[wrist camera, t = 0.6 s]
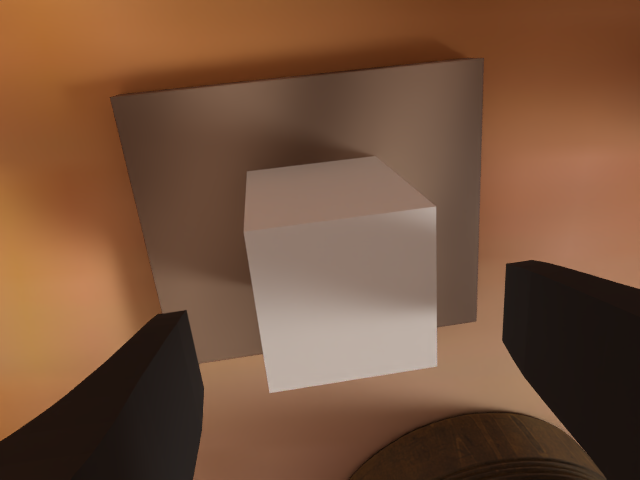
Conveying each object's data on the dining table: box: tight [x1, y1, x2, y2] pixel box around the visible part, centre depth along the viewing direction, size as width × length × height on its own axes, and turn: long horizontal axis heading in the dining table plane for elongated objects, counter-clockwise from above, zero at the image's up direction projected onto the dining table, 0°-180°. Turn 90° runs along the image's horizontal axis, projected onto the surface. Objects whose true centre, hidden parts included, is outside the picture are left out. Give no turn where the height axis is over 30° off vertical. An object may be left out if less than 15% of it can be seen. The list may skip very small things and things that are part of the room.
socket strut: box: [244, 156, 437, 393], centre depth 15 cm, size 4×4×6 cm
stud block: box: [110, 58, 484, 364], centre depth 16 cm, size 12×10×5 cm
